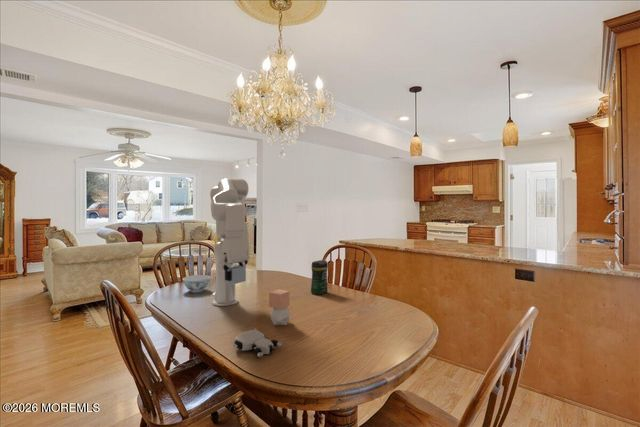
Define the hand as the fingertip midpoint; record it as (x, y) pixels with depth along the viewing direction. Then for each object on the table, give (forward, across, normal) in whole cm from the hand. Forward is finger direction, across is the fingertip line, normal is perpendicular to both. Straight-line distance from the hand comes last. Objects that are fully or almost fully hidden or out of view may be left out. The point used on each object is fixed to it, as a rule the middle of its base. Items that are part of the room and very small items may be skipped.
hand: (234, 278), depth 129 cm
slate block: (+1, 0, 0) cm, 1 cm away
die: (+20, -13, +13) cm, 28 cm away
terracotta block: (+12, -13, +13) cm, 22 cm away
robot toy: (+20, +10, +22) cm, 31 cm away
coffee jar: (+21, -62, 0) cm, 66 cm away
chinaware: (+22, -24, -60) cm, 68 cm away
